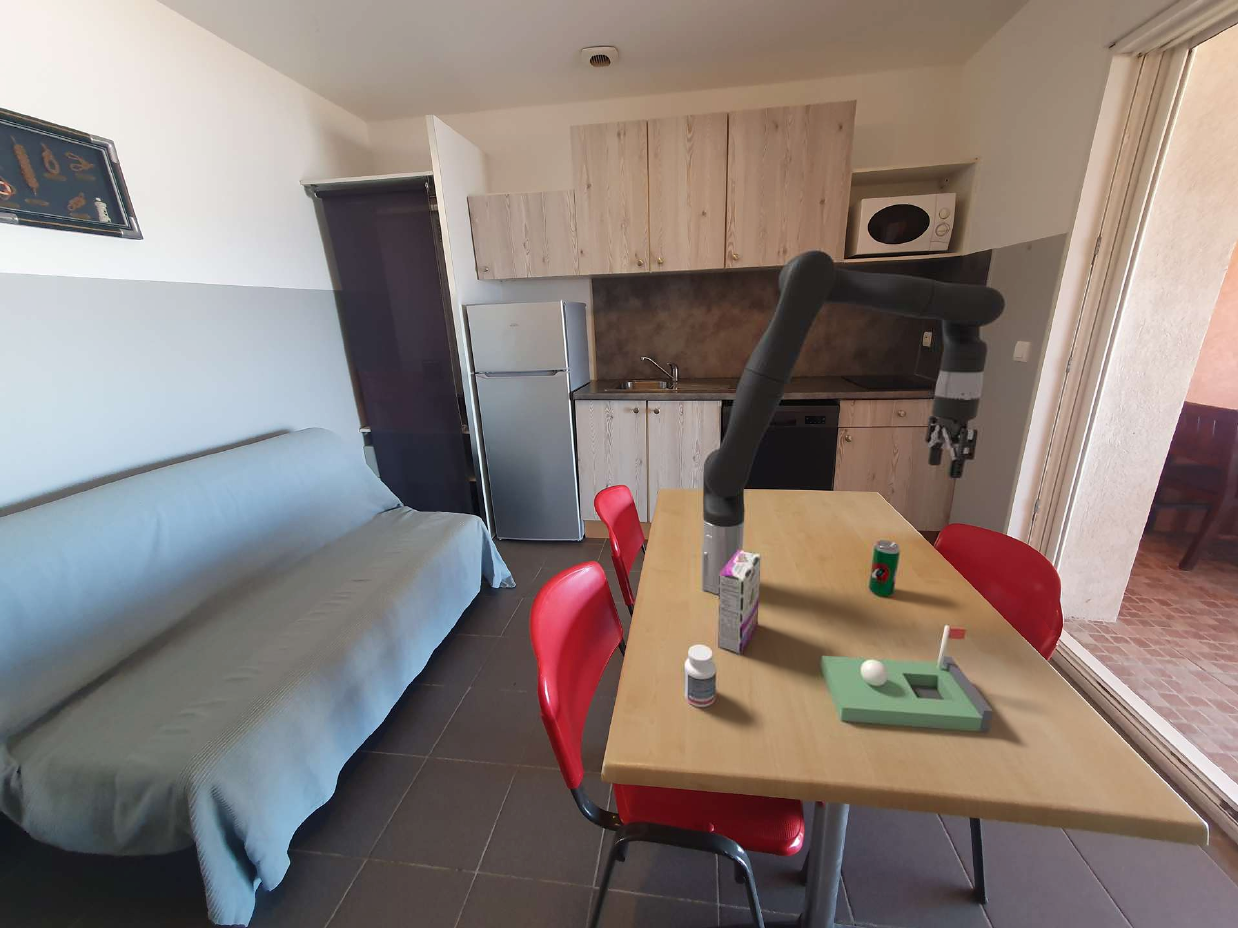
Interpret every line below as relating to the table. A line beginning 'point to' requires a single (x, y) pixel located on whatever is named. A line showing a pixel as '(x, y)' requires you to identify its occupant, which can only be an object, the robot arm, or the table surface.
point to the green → (909, 692)
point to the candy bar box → (738, 600)
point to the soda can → (884, 568)
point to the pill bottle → (700, 676)
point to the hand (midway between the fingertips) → (943, 471)
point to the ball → (874, 672)
